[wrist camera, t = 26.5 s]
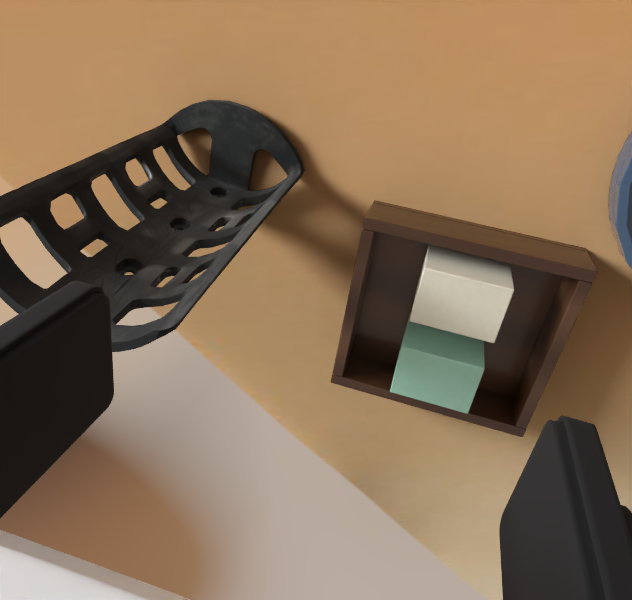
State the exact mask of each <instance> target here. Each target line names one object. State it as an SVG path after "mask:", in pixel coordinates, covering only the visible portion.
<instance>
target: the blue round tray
mask: <svg viewBox="0 0 632 600" xmlns="http://www.w3.org/2000/svg"><path fill="white" fill-rule="evenodd" d="M608 206H609V219H610V223H611V227H612V231H613V235H614V237H615V240H616V242H617V245H618V248H619V251H620V253H621V255H622V256H623V258H624V259H625V261H626V262H627V264H628V265H629V266H630V267H631V269H632V132H631V134H630V135H629V137H628V138H627V140H626V142H625V144H624V146H623V148H622V150H621V152H620V154H619V156H618V159H617V162H616V165H615V168H614V171H613V174H612V179H611V184H610V189H609V204H608Z"/></svg>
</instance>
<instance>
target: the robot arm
mask: <svg viewBox="0 0 632 600" xmlns="http://www.w3.org/2000/svg"><path fill="white" fill-rule="evenodd" d="M113 395H114V383H113V361H112V339H111V317H110V301H109V298H108V297H107V296H105V295H104V291H103V290H102V288H100V287H98V286H94V285H90V284H87V283H83V282H80V281H72V282H70V283H68V284H67V285H65V286H64V287H62V288H60V289H59V290H57V291H56V292H54V293H52V294H51V295H49V296H48V297H46V298H44V299H43V300H41V301H39V302H38V303H36V304H35V305H33V306H31V307H30V308H28V309H27V310H25V311H23V312H22V313H20V314H19V315H17V316H15V317H14V318H12V319H11V320H9V321H7V322H6V323H4V324H2V325H1V326H0V518H1V517H2V516H3V515H4V514H5V513H6V512H7V511H8V510H9V509H10V508H11V507H12V506H13V504H15V502H17V500H18V499H19V498H20V497H21V496H22V495H23V494H24V493H25V492H26V491H27V490H28V489H29V488H30V487H31V486H32V485H33V484H34V483H35V482H36V481H37V480H38V479H39V478H40V477H41V476H42V475H43V474H44V473H45V472H46V471H47V470H48V469H49V468H50V467H51V465H53V463H54V462H55V461H56V460H57V459H58V458H59V457H60V456H61V455H62V454H63V453H64V452H65V451H66V450H67V449H68V448H69V447H70V446H71V445H72V444H73V443H74V442H75V441H76V440H77V439H78V438H79V437H80V436H81V435H82V434H83V433H84V432H85V431H86V429H87V428H89V426H90V425H91V424H92V423H93V422H94V421H95V420H96V419H97V418H98V417H99V416H100V415H101V414H102V413H103V412H104V411H105V410H106V409H107V408H108V407H109V405H110V403H111V401H112V398H113ZM500 550H501V569H502V587H503V600H632V513H631V511H630V510H629V509H628V508H627V507H626V506H622V505H620V502H619V499H618V495H617V492H616V489H615V486H614V483H613V479H612V476H611V473H610V470H609V467H608V463H607V460H606V457H605V454H604V451H603V448H602V444H601V441H600V438H599V435H598V432H597V429H596V427H595V425H594V424H592V423H588V422H584V421H581V420H577V419H574V418H570V417H566V416H560V417H559V418H558V420H557V421H552V420H548V421H547V422H546V424H545V426H544V428H543V430H542V432H541V434H540V436H539V438H538V440H537V443H536V445H535V447H534V449H533V451H532V453H531V455H530V457H529V459H528V461H527V464H526V466H525V468H524V470H523V472H522V474H521V476H520V478H519V480H518V483H517V485H516V487H515V489H514V491H513V493H512V495H511V497H510V499H509V501H508V504H507V506H506V508H505V510H504V512H503V515H502V518H501V522H500ZM0 600H191V599H188V598H185V597H183V596H180V595H177V594H175V593H172V592H169V591H167V590H164V589H161V588H158V587H156V586H153V585H150V584H148V583H145V582H142V581H139V580H137V579H134V578H131V577H128V576H126V575H123V574H120V573H118V572H115V571H112V570H109V569H107V568H104V567H101V566H98V565H96V564H93V563H91V562H88V561H85V560H82V559H80V558H77V557H74V556H71V555H69V554H66V553H63V552H60V551H58V550H55V549H52V548H49V547H46V546H44V545H41V544H38V543H35V542H33V541H30V540H27V539H24V538H22V537H19V536H16V535H13V534H11V533H8V532H5V531H2V530H0Z"/></svg>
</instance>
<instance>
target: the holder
mask: <svg viewBox="0 0 632 600" xmlns="http://www.w3.org/2000/svg"><path fill="white" fill-rule="evenodd" d="M200 127H201V128H205V129H207V130H208V131H209V132H210V134H211V137H212V146H211V157H210V169H209V174H208V175H207V176H206V175H205V174H203V173H202V172H201V171H199V170H198V169H197V168H196V167H195V166H194V165H193V164H192V162H191V161H190V160H189V159H188V158H187V156H186V155H185V153H184V152H183V150H182V148H181V146H180V144H179V142H178V139H177V135H179V134H182V133H185V132H187V131H190V130H193V129H196V128H200ZM160 146H163V148H164V149H165V151H166V152H167V154H168V156H169V158H170V159H171V161H172V163H173V164H174V166H175V167H176V169H177V170H178V171H179V173H180V174H181V175H182V177H183V178H184V179H185V180H186V181H187V182H188V183H189V184H190V185H191V187H189V188H188V189H187V190H185V191H184V190H180V189H178V188H177V187H176V186H175V185H174V184H173V183H172V182H171V181H170V180H169V179H168V178H167V176H166V175H165V174H164V173H163V171H162V170H161V168H160V166H159V165H158V163H157V161H156V159H155V157H154V154H153V150H154V149H156V148H158V147H160ZM259 149H264V150H266V151H268V152H269V153H270V154H271V155H272V156H273V157H274V158H275V160H276V161H277V162H278V163H279V164H280V166H281V167H282V168H283V169H284V171H285V172H286V173H287V175H288V176H287V178H286V179H285V180H283V181H282V182H281V183H279V184H277V185H276V186H273V187H271V188H268V189H265V190H259V191H250V190H247V189H248V185H249V181H250V176H251V172H252V167H253V162H254V157H255V152H256V151H257V150H259ZM135 158H136V159H137V160H138V162H139V163H140V164H141V166H142V167H143V169H144V171H145V173H146V175H147V177H148V179H149V180H148V181H147V182H145V183H143V184H142V185H140V186H136V185H134V184H133V182H132V181H131V180H130V178H129V176H128V174H127V172H126V169H125V166H126V162H128V161H130V160H132V159H135ZM304 171H305V167H304V164H303V160H302V158H301V156H300V154H299V152H298V151H297V149H296V148H295V146H294V145H293V144H292V142H291V141H290V140H289V139H288V137H287V136H286V135H285V134H284V133H283V131H282V130H281V129H280V128H279V127H278V126H277V125H276V124H275V123H273V122H272V121H271V120H269V119H268V118H267V117H265V116H263V115H262V114H260V113H259V112H257V111H255V110H253V109H251V108H249V107H247V106H244V105H241V104H237V103H234V102H231V101H221V100H207V101H203V102H199V103H195V104H192V105H190V106H188V107H186V108H184V109H182V110H180V111H179V112H178V113H176V114H175V115H174V116H172V117H171V118H170V119H169V120H168V121H166V122H165V123H163V124H162V125H160V126H158V127H156V128H154V129H152V130H149V131H147V132H144V133H142V134H140V135H137V136H135V137H133V138H130V139H128V140H126V141H123V142H121V143H119V144H116V145H114V146H112V147H110V148H108V149H105V150H103V151H101V152H99V153H96V154H94V155H92V156H90V157H88V158H85V159H83V160H81V161H79V162H76V163H74V164H72V165H70V166H67V167H65V168H63V169H60V170H58V171H56V172H53V173H51V174H49V175H47V176H45V177H43V178H40V179H37V180H35V181H33V182H31V183H29V184H26V185H24V186H22V187H20V188H18V189H16V190H13V191H11V192H8V193H6V194H4V195H2V196H0V227H2V226H4V225H6V224H8V223H9V222H11V221H13V220H15V219H17V218H20V217H23V218H24V219H25V220H26V221H27V222H28V223H29V224H30V225H31V227H32V228H33V230H34V232H35V233H36V235H37V236H38V238H39V239H40V241H41V242H42V243H43V245H44V246H45V248H46V249H47V250H48V251H49V252H50V254H51V255H52V256H53V257H54V259H55V260H56V261H57V262H58V263H59V264H60V265H61V267H62V268H63V269H64V270H65V271H66V272H67V273H68V274H66V275H65V276H63V277H62V278H61V279H60V280H58V281H57V282H55V283H54V284H53V285H52V286H50V287H49V288H48V289H43V288H41V287H40V286H38V285H37V284H35V283H33V282H31V281H30V280H29V279H28V278H27V277H26V276H25V274H24V273H23V272H22V271H21V270H20V269H19V268H18V266H17V265H16V264H15V263H14V261H13V260H12V258H11V257H10V256H9V254H8V253H7V251H6V250H5V248H4V246H3V245H2V243H1V240H0V297H1V298H2V299H3V300H4V301H5V303H7V304H8V305H9V306H10V307H11V308H12V309H13V310H14V311H16V312H17V313H19V314H20V313H22V312H23V311H25V310H27V309H28V308H30V307H31V306H33V305H35V304H36V303H38V302H39V301H41V300H43V299H44V298H46V297H48V296H49V295H51V294H52V293H54V292H56V291H57V290H59V289H60V288H62V287H64V286H65V285H67V284H68V283H70V282H72V281H80V282H83V283H87V284H90V285H94V286H98V287H100V288H102V290H103V291H104V295H105V296H107V297H108V298H109V301H110V317H111V339H112V352H120V351H125V350H131V349H136V348H138V347H142V346H144V345H146V344H149V343H151V342H152V341H154V340H156V339H158V338H160V337H162V336H164V335H166V334H168V333H170V332H171V331H173V330H175V329H176V328H177V327H178V326H179V324H180V323H181V322H182V321H183V319H184V318H185V317H186V315H187V314H188V313H189V312H190V310H191V309H192V308H193V307H194V306H195V304H196V303H197V302H198V301H199V299H200V298H201V297H202V296H203V294H204V293H205V292H206V291H207V289H208V288H209V287H210V286H211V285H212V283H213V282H214V281H215V280H216V279H217V277H218V276H219V275H220V274H221V272H222V271H223V270H224V269H225V268H226V266H227V265H228V264H229V263H230V262H231V260H232V259H233V258H234V257H235V256H236V254H237V253H238V252H239V251H240V249H241V248H242V247H243V246H244V245H245V243H246V242H247V241H248V240H249V238H250V237H251V236H252V235H253V233H254V232H255V231H256V230H257V229H258V227H259V226H260V225H261V224H262V222H263V221H264V220H265V219H266V218H267V216H268V215H269V214H270V213H271V212H272V210H273V209H274V208H275V207H276V206H277V204H278V203H279V202H280V201H281V200H282V199H283V197H284V196H285V195H286V194H287V193H288V192H289V190H290V189H291V188H292V187H293V186H294V185H295V183H296V182H297V181H298V180H299V179H300V178H301V176H302V175H303V173H304ZM103 174H106V176H107V177H108V178H109V180H110V181H111V182H112V184H113V186H114V187H115V189H116V191H117V192H118V194H119V195H120V197H121V198H122V200H123V201H124V203H125V204H126V205H127V207H128V208H129V209H130V211H131V212H132V213H133V214H134V215H135V216H136V217H137V218H138V219H139V221H140V223H138V224H137V225H135V226H134V227H132V228H131V229H130V230H128V231H127V230H125V229H123V228H120V227H118V225H117V224H116V223H115V222H114V221H113V220H112V219H111V218H110V217H109V216H108V214H107V213H106V212H105V210H104V209H103V208H102V206H101V204H100V203H99V201H98V200H97V198H96V196H95V195H94V192H93V190H92V188H91V184H92V181H93V180H94V179H95V178H97V177H99V176H101V175H103ZM65 193H67V194H70V195H71V196H72V197H73V199H74V200H75V202H76V204H77V205H78V207H79V209H80V210H81V212H82V214H83V215H84V219H82V220H80V221H79V222H77V223H76V224H74V225H72V226H71V227H69V228H67V229H65V230H64V229H63V228H61V227H60V226H59V225H58V224H57V222H56V221H55V219H54V217H53V215H52V213H51V212H50V207H51V201H52V200H54V199H56V198H57V197H59V196H61V195H63V194H65ZM159 198H162V199H164V200H165V201H167V202H168V203H166V204H165V205H164V206H162V207H161V208H160V209H156V208H154V207H152V206H151V205H150V204H151V203H152V202H154V201H156V200H157V199H159ZM259 203H260V204H259ZM256 204H258V205H256ZM253 205H256V206H254V207H251V208H247V209H243V210H237V209H238V208H241V207H244V206H253ZM221 226H224V227H223V228H222V229H221V230H219V231H215V230H216V229H217V228H219V227H221ZM179 230H181V231H179ZM96 239H100V240H103V241H104V242H105V243H106V244H107V245H108V246H106V247H105V248H104V249H102V250H101V251H100V252H98V253H97V254H95V255H94V256H93V257H87V256H85V255H84V254H82V253H81V252H80V250H82V249H83V248H84V247H86V246H87V245H89V244H90V243H91V242H93V241H94V240H96ZM230 241H231V242H230ZM228 242H229V243H228ZM225 243H228V244H227V245H226V246H225V247H224V248H222V249H220V250H218V251H216V252H214V253H211V254H207V255H204V256H200V257H187V256H189V255H190V254H191V253H192V252H193V251H194V250H197V249H199V248H211V247H215V246H218V245H222V244H225ZM205 269H207V270H206V271H205V272H203V273H202V274H201V275H200V276H199V277H198V278H196V279H194V280H192V281H190V280H191V279H192V278H193V277H194V276H195V275H196V274H198V273H200V272H202V271H203V270H205ZM126 272H132V273H133V274H134V275H124V274H125V273H126ZM169 276H175V277H174V278H172V279H171V280H170V281H169V282H168V283H167V284H166V285H164V286H163V287H162V288H161V287H156V286H157V285H158V284H159V283H160V282H161V281H162V280H163V279H165V278H166V277H169ZM189 281H190V282H189ZM178 301H179V302H178ZM175 302H178V303H177V304H176V306H175V307H174V308H173V309H172V310H171V311H170V312H169V313H167V314H166V315H165V316H163V317H162V318H160V319H158V320H155V321H152V322H150V323H147V324H144V325H137V326H124V325H116V324H117V323H118V322H119V321H120V320H121V319H122V318H123V317H124V316H125V315H126V314H127V313H128V312H129V311H131V310H133V309H136V308H143V307H156V306H164V305H167V304H171V303H175Z"/></svg>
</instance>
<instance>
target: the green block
mask: <svg viewBox="0 0 632 600" xmlns="http://www.w3.org/2000/svg"><path fill="white" fill-rule="evenodd" d="M410 316H411V313H410V314H409V318H408V322H407V325H406V329H405V333H404V336H403V340H402V344H401V347H400V351H399V355H398V359H397V363H396V367H395V372H394V376H393V381H392V385H391V389H390V392H392V393H396V394H400V395H403V396H407V397H410V398H414V399H417V400H421V401H424V402H428V403H431V404H435V405H438V406H442V407H445V408H449V409H452V410H456V411H459V412H463V413H466V414H468V412H469V409H470V407H471V404H472V401H473V399H474V396H475V393H476V391H477V388H478V385H479V383H480V380H481V377H482V375H483V372H484V369H485V362H484V341H483V340H479V339H476V338H472V337H468V336H464V335H460V334H456V333H453V332H449V331H445V330H441V329H437V328H433V327H430V326H426V325H422V324H418V323H414V322H411V321H410Z"/></svg>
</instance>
